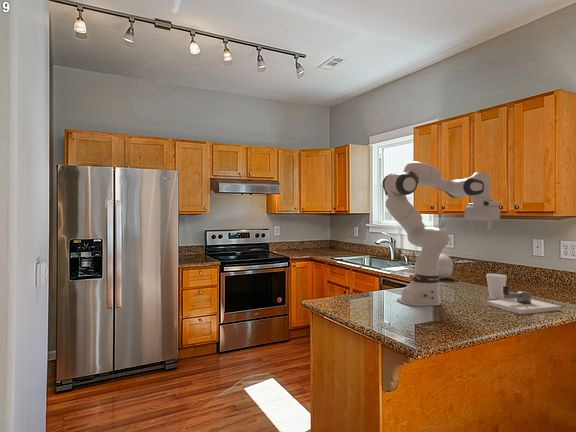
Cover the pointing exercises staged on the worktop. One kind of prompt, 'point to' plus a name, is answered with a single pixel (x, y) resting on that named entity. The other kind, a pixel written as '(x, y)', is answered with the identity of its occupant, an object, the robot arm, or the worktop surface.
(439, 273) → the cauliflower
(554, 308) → the stand
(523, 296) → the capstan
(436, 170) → the robot arm
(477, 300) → the worktop surface
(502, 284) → the foam cup
